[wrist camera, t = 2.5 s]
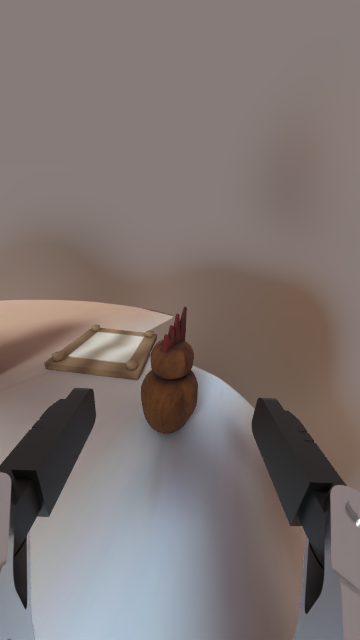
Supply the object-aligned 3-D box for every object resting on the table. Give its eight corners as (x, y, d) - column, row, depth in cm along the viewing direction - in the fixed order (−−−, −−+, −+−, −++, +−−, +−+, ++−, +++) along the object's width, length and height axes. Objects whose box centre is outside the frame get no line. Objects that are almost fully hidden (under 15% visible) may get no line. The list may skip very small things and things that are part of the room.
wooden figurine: (175, 396, 29) (184, 300, 24) (201, 424, 24) (219, 314, 19) (133, 415, 25) (133, 306, 20) (155, 452, 21) (162, 325, 15)
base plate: (45, 368, 32) (43, 357, 31) (93, 331, 47) (92, 323, 46) (137, 380, 31) (137, 368, 31) (156, 338, 46) (156, 330, 46)
